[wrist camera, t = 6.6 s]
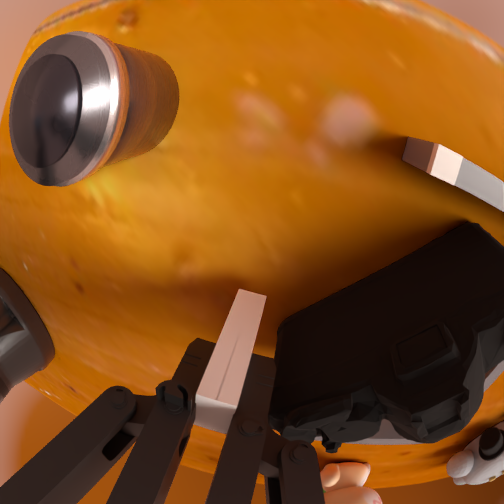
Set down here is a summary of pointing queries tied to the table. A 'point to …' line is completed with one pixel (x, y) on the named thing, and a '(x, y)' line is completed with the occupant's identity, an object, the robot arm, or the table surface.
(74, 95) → the lens
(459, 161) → the bracket
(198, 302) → the table surface
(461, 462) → the figurine
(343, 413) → the film camera
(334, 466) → the kitten
